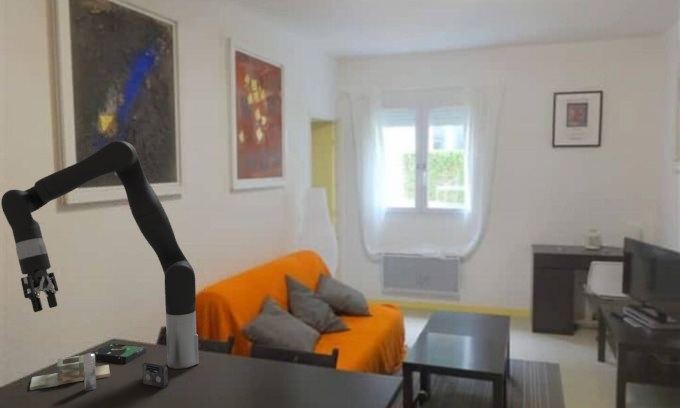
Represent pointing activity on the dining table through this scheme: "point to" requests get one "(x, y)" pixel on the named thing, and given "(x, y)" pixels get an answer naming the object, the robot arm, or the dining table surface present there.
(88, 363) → the hinge pin
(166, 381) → the mini dv tape
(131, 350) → the disk drive
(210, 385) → the dining table surface
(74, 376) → the hinge leaves
